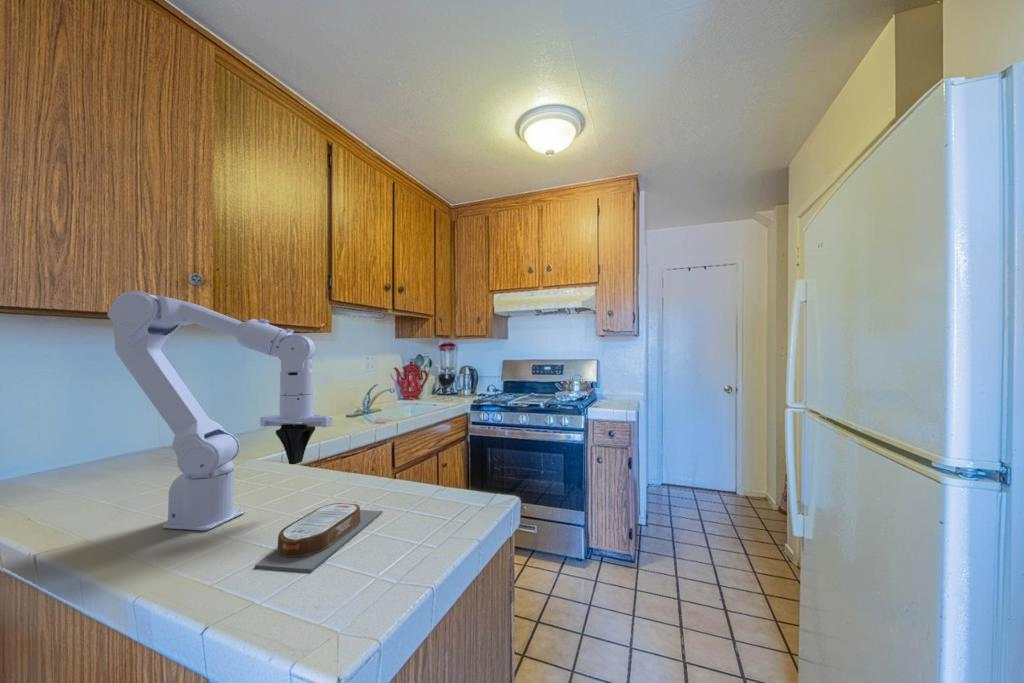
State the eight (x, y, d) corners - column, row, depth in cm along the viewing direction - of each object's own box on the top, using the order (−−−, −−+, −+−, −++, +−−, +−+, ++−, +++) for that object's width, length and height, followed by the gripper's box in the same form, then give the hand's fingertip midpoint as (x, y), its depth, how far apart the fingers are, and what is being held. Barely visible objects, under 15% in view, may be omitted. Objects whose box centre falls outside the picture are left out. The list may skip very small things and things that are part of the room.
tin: (263, 555, 55) (312, 564, 54) (264, 534, 56) (314, 542, 54) (329, 514, 70) (369, 519, 69) (330, 497, 70) (370, 502, 69)
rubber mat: (254, 567, 53) (254, 565, 53) (339, 511, 73) (339, 508, 73) (311, 572, 52) (311, 569, 52) (382, 513, 71) (382, 511, 71)
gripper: (247, 396, 71) (246, 467, 71) (315, 396, 69) (315, 469, 68) (276, 393, 78) (275, 457, 78) (338, 392, 76) (338, 459, 75)
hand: (295, 462), depth 73 cm, fingers closed
